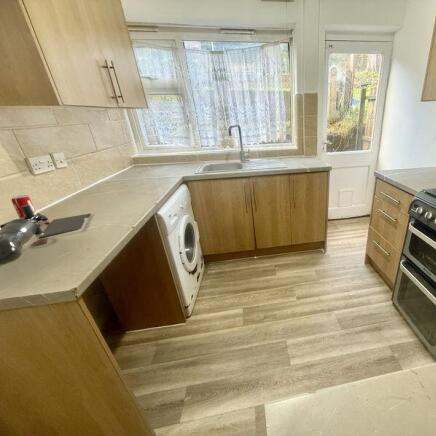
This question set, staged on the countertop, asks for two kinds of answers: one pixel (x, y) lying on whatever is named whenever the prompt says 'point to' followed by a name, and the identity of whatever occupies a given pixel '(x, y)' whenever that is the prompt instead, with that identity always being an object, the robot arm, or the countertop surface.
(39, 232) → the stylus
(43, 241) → the dock
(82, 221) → the tablet
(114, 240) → the countertop surface
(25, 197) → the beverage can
